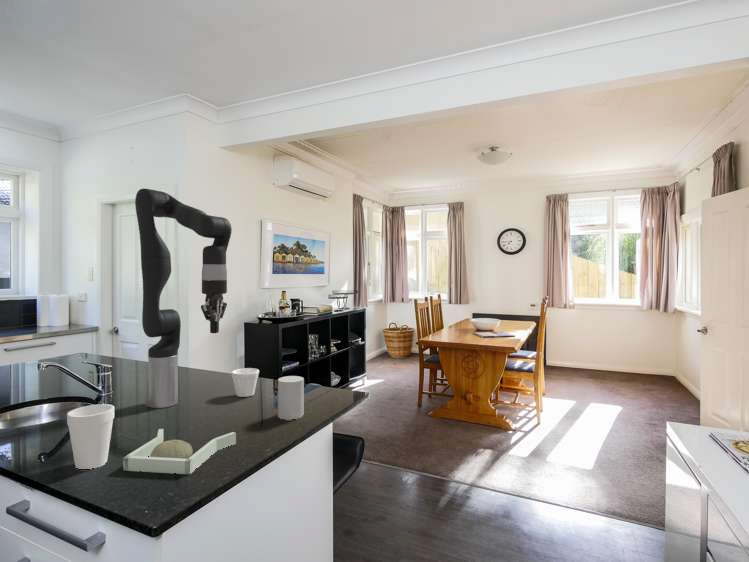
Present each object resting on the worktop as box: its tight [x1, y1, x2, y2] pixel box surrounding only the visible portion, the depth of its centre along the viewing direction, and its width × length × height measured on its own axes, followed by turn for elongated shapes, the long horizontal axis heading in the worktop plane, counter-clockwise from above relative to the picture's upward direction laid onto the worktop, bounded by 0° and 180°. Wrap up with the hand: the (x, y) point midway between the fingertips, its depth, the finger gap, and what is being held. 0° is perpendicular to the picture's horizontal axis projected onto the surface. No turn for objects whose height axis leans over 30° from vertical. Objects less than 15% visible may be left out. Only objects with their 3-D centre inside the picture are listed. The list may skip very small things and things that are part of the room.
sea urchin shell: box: [149, 439, 194, 459], centre depth 101 cm, size 9×8×8 cm
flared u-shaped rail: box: [122, 428, 237, 475], centre depth 105 cm, size 22×18×3 cm
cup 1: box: [231, 367, 260, 398], centre depth 157 cm, size 10×10×9 cm
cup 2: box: [277, 375, 305, 421], centre depth 135 cm, size 8×8×12 cm
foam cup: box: [66, 403, 115, 470], centre depth 100 cm, size 10×9×13 cm
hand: (214, 332), depth 133 cm, fingers closed
